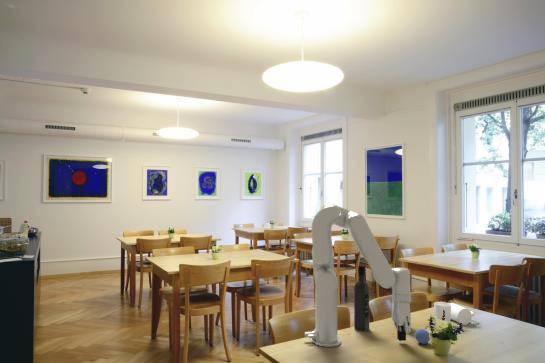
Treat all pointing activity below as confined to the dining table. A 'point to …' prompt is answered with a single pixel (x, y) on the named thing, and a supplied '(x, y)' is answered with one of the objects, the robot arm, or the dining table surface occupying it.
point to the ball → (422, 336)
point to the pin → (409, 329)
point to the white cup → (439, 310)
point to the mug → (461, 314)
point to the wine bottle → (361, 302)
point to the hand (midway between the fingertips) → (401, 339)
